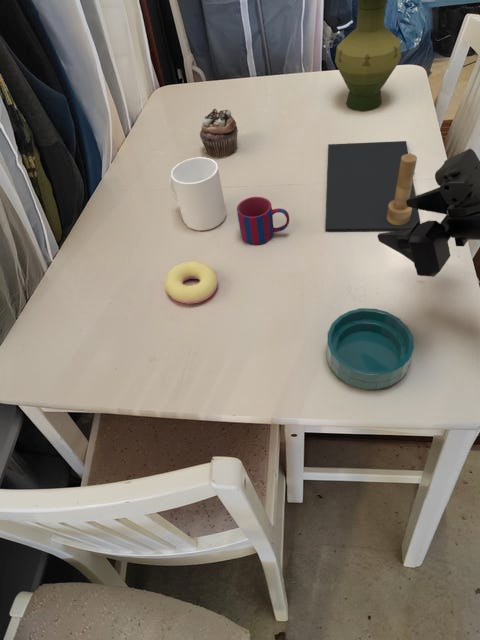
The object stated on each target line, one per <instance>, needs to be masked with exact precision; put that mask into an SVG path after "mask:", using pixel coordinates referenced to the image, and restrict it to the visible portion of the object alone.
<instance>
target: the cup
mask: <svg viewBox="0 0 480 640" xmlns="http://www.w3.org/2000/svg"><path fill="white" fill-rule="evenodd" d="M272 206H273V205H272V203H271V201H270V199H268V198H265V197H264V196H263V197H262V196H251V197H247V198H245V199H243V200H241V201H240V202H239V203H238V204H237V206H236V213H237V219H238V225H239V232H240V238H241V240H242V241H243V242H244V243H245V244H247V245H250V246H260V245H264V244H267V243H268V242H269V241H271V240H272V239H273V237H274V236H275V235H274V234H275V233H279V232H282V231H284V230H285V229H287V227H288V226H289V223H290V215H289V212H288V211H287V210H286V209H284V208H281V207H280V208H273V207H272ZM278 213H281V214H284V216H285V219H286V222H285V223H284V224H283V225H281V226H279V227H274V216H273V215H275V214H278Z"/></svg>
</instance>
